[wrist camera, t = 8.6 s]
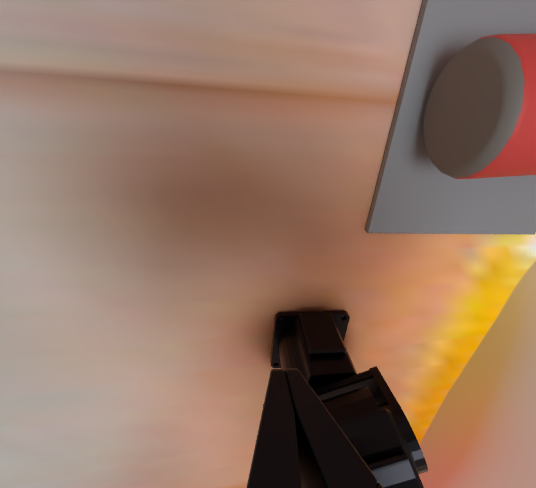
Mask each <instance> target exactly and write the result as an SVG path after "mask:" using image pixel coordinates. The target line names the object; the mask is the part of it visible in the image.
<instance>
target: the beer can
mask: <svg viewBox="0 0 536 488" xmlns="http://www.w3.org/2000/svg"><path fill="white" fill-rule="evenodd" d="M423 135H424V142H425V148H426V150H427V153H428V155H429V158H430V160H431V162H432V163H433V164H434V165H435V166H436V167H437V168H438V170H439V171H440V172H441V173H443V174H446V175H448V176H450V177H452V178H455V179H475V178H492V177H508V176H525V175H536V34H497V35H491V36H485V37H481V38H479V39H477V40H476V41H474V42H472V43H471V44H469V45H467V46H466V47H464V48H463V49H461V50H460V51H459V52H458V53H457V54H456V55H455V56H454V57H453V58H452V59H451V60H450V61H449V63H448V64H447V65H446V66H445V67H444V69H443V70H442V72H441V74H440V75H439V77H438V79H437V80H436V82H435V84H434V86H433V88H432V91H431V93H430V96H429V98H428V101H427V106H426V110H425V115H424V126H423Z"/></svg>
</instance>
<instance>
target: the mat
mask: <svg viewBox="0 0 536 488" xmlns="http://www.w3.org/2000/svg"><path fill="white" fill-rule="evenodd" d="M497 34H536V0H423V2H422V6H421V10H420V14H419V18H418V22H417V26H416V30H415V34H414V38H413V42H412V46H411V50H410V54H409V58H408V62H407V66H406V70H405V74H404V78H403V82H402V86H401V90H400V94H399V98H398V102H397V106H396V110H395V114H394V118H393V122H392V126H391V130H390V134H389V138H388V142H387V146H386V150H385V154H384V158H383V162H382V166H381V170H380V174H379V178H378V182H377V186H376V190H375V194H374V198H373V202H372V206H371V210H370V214H369V218H368V221H367V225H366V229H365V230H366V231H367V232H368V233H420V234H535V232H536V175H525V176H508V177H492V178H475V179H455V178H452V177H450V176H448V175H446V174H443V173H441V172H440V171H439V170H438V168H437V167H436V166H435V165H434V164H433V163H432V162H431V160H430V158H429V155H428V153H427V150H426V148H425V142H424V135H423V126H424V115H425V110H426V106H427V101H428V98H429V96H430V93H431V91H432V88H433V86H434V84H435V82H436V80H437V79H438V77H439V75H440V74H441V72H442V70H443V69H444V67H445V66H446V65H447V64H448V63H449V61H450V60H451V59H452V58H453V57H454V56H455V55H456V54H457V53H458V52H459V51H460V50H461V49H463V48H464V47H466V46H467V45H469V44H471V43H472V42H474V41H476V40H477V39H479V38H481V37H485V36H491V35H497Z"/></svg>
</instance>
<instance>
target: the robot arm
mask: <svg viewBox="0 0 536 488" xmlns="http://www.w3.org/2000/svg"><path fill="white" fill-rule="evenodd" d="M343 316H344V317H343ZM280 318H283V319H280ZM348 322H349V315H348V313H347V312H346V311H321V312H285V313H278V314H277V315H276V316H275V322H274V332H273V341H272V351H271V366H272V367H273V368H281V369H272V370H271V372H270V377H269V382H268V387H267V392H266V397H265V401H264V404H263V411H262V416H261V421H260V426H259V430H258V435H257V440H256V445H255V450H254V455H253V460H252V464H251V469H250V474H249V479H248V484H247V488H423V485H422V482H421V480H420V478H419V475H418V474H421V473H424V472H427V471H428V468H427V464H426V461H425V458H424V456H423V453H422V451H421V448H420V446H419V443H418V441H417V439H416V437H415V435H414V432H413V430H412V428H411V426H410V424H409V422H408V420H407V418H406V416H405V414H404V412H403V411H402V409H401V407H400V405H399V404H398V402H397V400H396V399H395V397H394V395H393V394H392V392H391V390H390V389H389V387H388V385H387V383H386V382H385V380H384V378H383V377H382V375H381V373H380V372H379V370H378V368H377V367H373V368H370V369H369V370H368V371H365V372H362V373H359V374H357V373H356V370H355V368H354V366H353V363H352V361H351V359H350V356H349V354H348V352H347V349H346V347H345V345H344V342H343V341H344V337H345V333H346V330H347V326H348Z"/></svg>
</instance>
